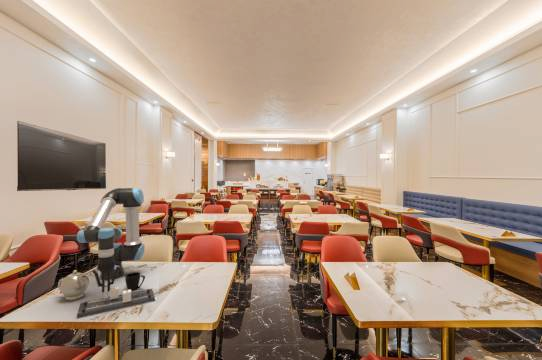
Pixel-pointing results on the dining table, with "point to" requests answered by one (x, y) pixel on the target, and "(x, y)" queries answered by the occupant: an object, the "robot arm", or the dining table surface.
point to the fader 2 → (126, 295)
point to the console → (114, 303)
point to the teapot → (73, 285)
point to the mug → (133, 281)
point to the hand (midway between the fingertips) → (106, 297)
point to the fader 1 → (114, 292)
